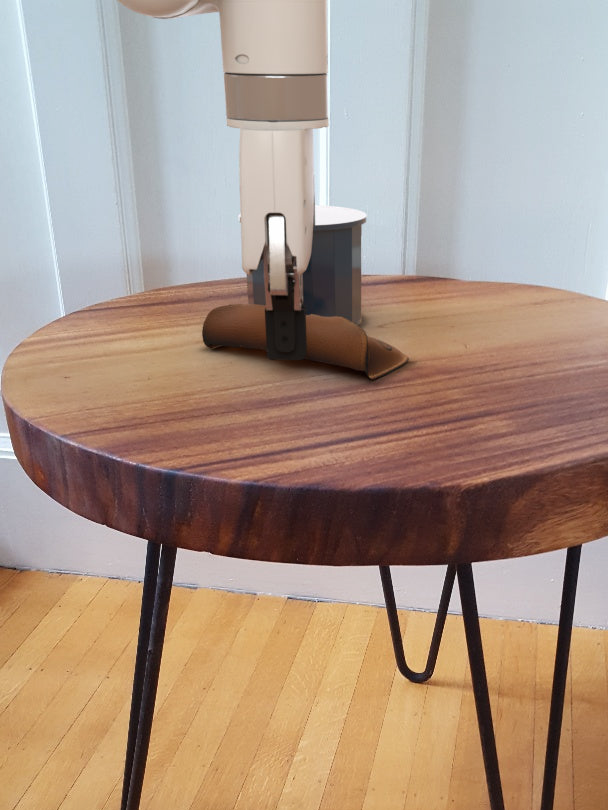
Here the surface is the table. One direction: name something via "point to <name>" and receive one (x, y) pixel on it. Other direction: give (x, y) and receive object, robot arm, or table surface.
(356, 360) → the sunglasses case
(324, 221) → the pot lid
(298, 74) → the robot arm
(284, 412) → the table surface
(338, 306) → the pot
